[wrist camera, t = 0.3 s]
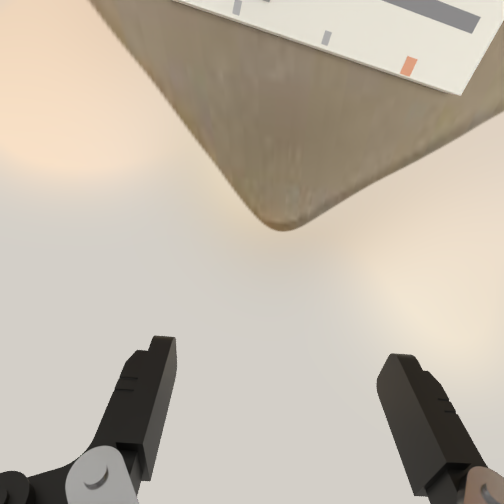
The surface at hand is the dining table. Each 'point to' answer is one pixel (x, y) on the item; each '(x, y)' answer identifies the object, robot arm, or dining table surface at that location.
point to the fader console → (381, 32)
